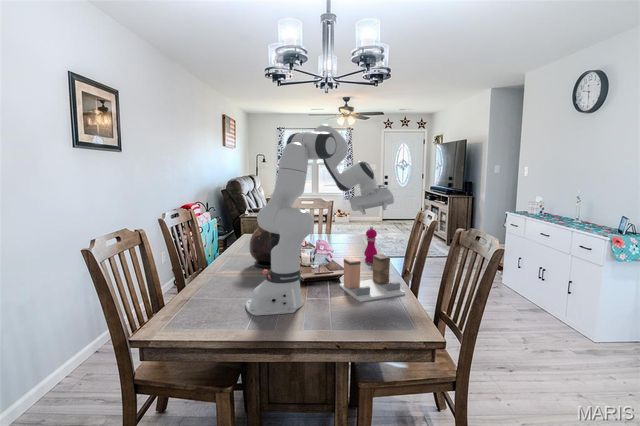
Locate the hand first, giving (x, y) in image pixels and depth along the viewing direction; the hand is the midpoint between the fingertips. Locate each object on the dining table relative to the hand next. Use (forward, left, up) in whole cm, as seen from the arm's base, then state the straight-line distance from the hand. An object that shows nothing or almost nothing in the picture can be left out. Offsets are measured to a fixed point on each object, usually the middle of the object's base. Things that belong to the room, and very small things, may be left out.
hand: (374, 211), depth 162 cm
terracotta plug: (-13, -5, -32) cm, 35 cm away
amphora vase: (-38, +43, -34) cm, 67 cm away
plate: (-6, -9, -34) cm, 35 cm away
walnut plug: (+2, -5, -32) cm, 33 cm away
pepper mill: (+17, +30, -34) cm, 48 cm away
